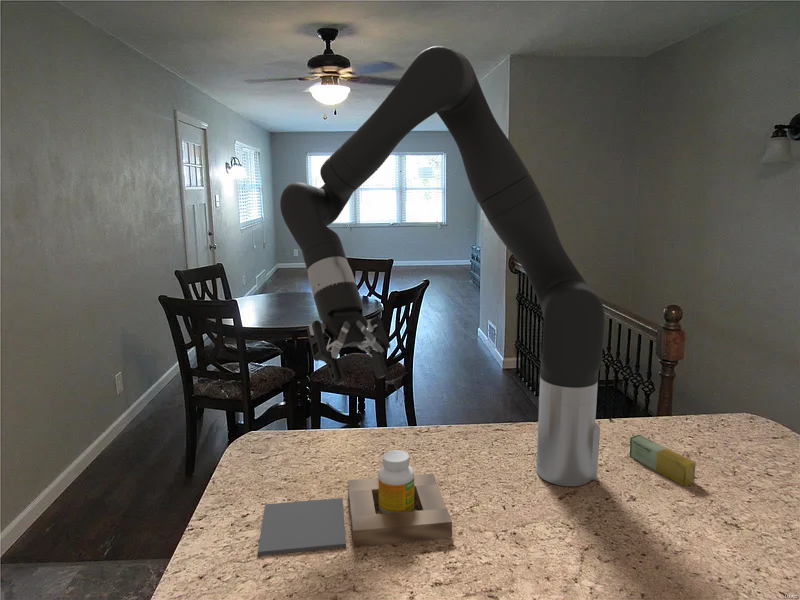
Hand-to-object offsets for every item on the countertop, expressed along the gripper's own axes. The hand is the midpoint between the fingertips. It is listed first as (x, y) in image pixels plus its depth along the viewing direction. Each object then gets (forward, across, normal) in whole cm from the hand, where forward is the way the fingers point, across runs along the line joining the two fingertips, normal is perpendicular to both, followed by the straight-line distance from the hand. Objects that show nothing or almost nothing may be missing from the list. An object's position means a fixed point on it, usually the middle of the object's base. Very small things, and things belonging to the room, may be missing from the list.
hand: (362, 380), depth 96 cm
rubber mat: (+18, -12, +8) cm, 24 cm away
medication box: (+29, +42, -19) cm, 55 cm away
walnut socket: (+21, 0, +1) cm, 21 cm away
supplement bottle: (+21, 0, +1) cm, 21 cm away
